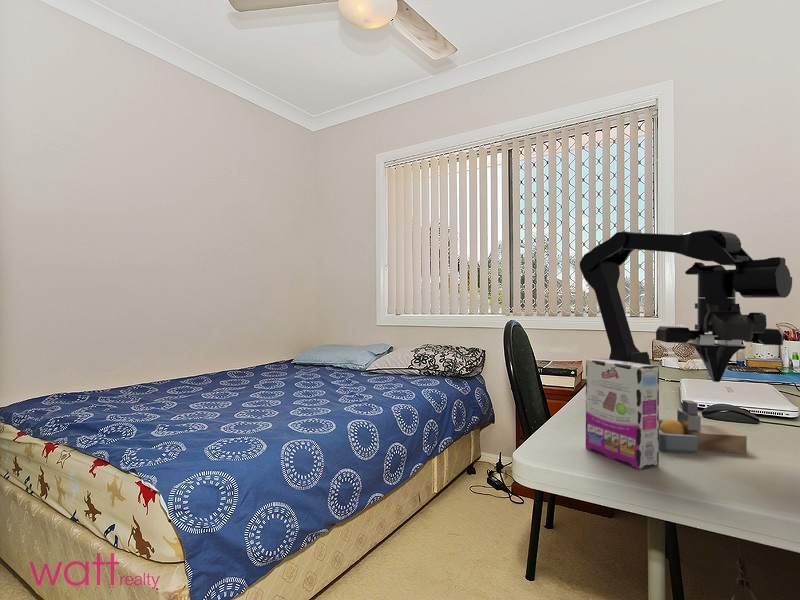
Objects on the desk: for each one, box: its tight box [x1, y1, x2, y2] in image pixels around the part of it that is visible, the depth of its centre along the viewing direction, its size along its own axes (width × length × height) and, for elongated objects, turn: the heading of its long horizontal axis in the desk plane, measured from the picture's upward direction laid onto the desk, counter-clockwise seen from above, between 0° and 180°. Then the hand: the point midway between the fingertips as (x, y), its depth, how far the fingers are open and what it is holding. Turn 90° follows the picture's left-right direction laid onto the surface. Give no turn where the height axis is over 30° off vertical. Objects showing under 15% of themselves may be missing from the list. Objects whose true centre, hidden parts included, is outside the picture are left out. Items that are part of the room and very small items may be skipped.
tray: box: [659, 418, 698, 455], centre depth 82 cm, size 6×11×3 cm, turn 168°
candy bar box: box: [585, 358, 660, 470], centre depth 74 cm, size 11×5×16 cm, turn 23°
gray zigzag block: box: [676, 399, 702, 431], centre depth 81 cm, size 2×5×5 cm, turn 168°
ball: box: [660, 418, 684, 435], centre depth 82 cm, size 4×4×4 cm
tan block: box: [684, 424, 748, 454], centre depth 80 cm, size 8×6×3 cm
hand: (715, 381), depth 81 cm, fingers closed
